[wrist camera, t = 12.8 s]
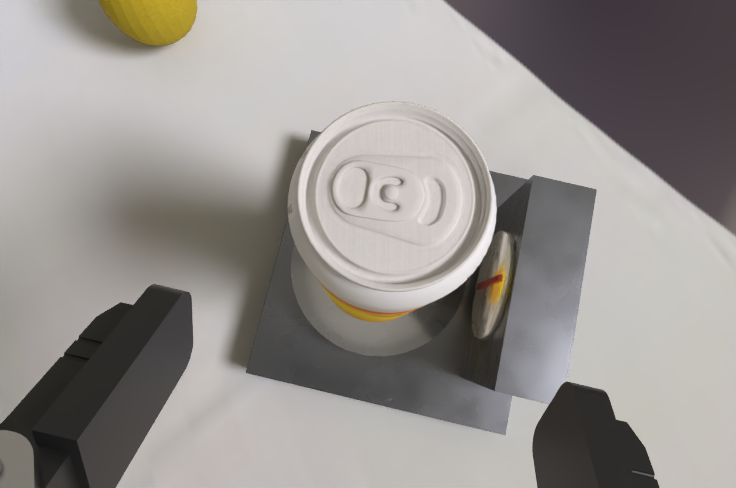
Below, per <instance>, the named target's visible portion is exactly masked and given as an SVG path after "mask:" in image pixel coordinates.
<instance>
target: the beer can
mask: <svg viewBox="0 0 736 488" xmlns="http://www.w3.org/2000/svg"><path fill="white" fill-rule="evenodd" d="M496 213H497V205H496V194H495V189H494V184H493V181H492V178H491V175H490V172H489V169H488V166H487V164H486V161H485V159H484V157H483V155H482V153H481V151H480V150H479V148H478V146H477V145H476V143H475V142H474V141H473V139H472V138H471V137H470V136H469V135H468V134H467V133H466V131H465V130H464V129H463V128H461V127H460V126H459V125H458V124H457V123H456V122H454V121H453V120H451V119H450V118H448V117H447V116H445V115H443V114H441V113H439V112H438V111H435V110H433V109H430V108H428V107H425V106H422V105H418V104H414V103H408V102H395V101H392V102H379V103H373V104H369V105H366V106H362V107H359V108H357V109H354V110H352V111H350V112H348V113H346V114H344V115H342V116H341V117H339V118H338V119H336V120H335V121H334V122H332V123H331V124H330V125H329V126H328V127H326V128H325V129H324V130H323V131H322V132H321V133H320V134H319V135H318V136H317V137H316V138H315V139H314V140H313V141H312V142H311V143H310V144H309V146H308V147H307V149H306V150H305V151H304V153H303V154H302V156H301V158H300V160H299V161H298V163H297V165H296V168H295V170H294V173H293V175H292V179H291V183H290V187H289V194H288V219H289V225H290V230H291V234H292V237H293V240H294V242H295V245H296V247H297V249H298V251H299V253H300V255H301V257H302V259H303V260H304V262H305V263H306V265H307V266H308V268H309V269H310V270H311V272H312V273H313V274H314V276H315V277H316V279H317V280H318V281H319V283H320V284H321V285H322V287H323V288H324V290H325V291H326V292H327V294H328V295H329V296H330V298H331V299H332V300H333V302H334V303H335V304H336V305H337V306H338V307H339V308H340V309H341V310H343V311H344V312H345V313H347V314H349V315H350V316H352V317H354V318H357V319H360V320H363V321H368V322H385V321H390V320H394V319H397V318H399V317H401V316H403V315H405V314H408V313H410V312H412V311H414V310H416V309H418V308H421V307H423V306H425V305H427V304H429V303H431V302H433V301H436V300H438V299H440V298H442V297H444V296H446V295H447V294H449V293H451V292H452V291H454V290H455V289H456V288H458V287H459V286H460V285H461V284H463V283H464V282H465V281H466V280H467V279H468V278H469V277H470V276H471V275H472V274H473V272H474V271H475V270H476V269H477V267H478V266H479V265H480V263H481V261H482V260H483V258H484V256H485V255H486V253H487V250H488V248H489V246H490V243H491V240H492V237H493V234H494V229H495V224H496Z"/></svg>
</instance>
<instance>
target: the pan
mask: <svg viewBox="0 0 736 488" xmlns="http://www.w3.org/2000/svg"><path fill="white" fill-rule="evenodd" d="M291 278H292V284H293V289H294V293H295V296H296V299H297V302H298V304H299V306H300V308H301V310H302V312H303V313H304V315H305V316H306V318H307V319H308V321H309V322H310V323H311V325H312V326H313V327H314V328H315V329H316V330H317V331H318V332H319V333H320V334H321V335H323V336H324V337H325V338H326V339H327V340H329V341H331V342H332V343H334V344H335V345H337V346H339V347H341V348H343V349H345V350H348V351H351V352H354V353H357V354H362V355H368V356H392V355H398V354H402V353H406V352H409V351H411V350H414V349H416V348H418V347H420V346H422V345H424V344H426V343H428V342H429V341H430V340H432V339H433V338H434V337H436V336H437V335H438V334H439V333H440V332H441V331H442V330H443V329H444V328H445V327H446V326H447V325H448V323H449V322H450V321H451V319H452V318H453V317H454V315H455V313H456V311H457V310H458V308H459V306H460V303H461V301H462V298H463V295H464V291H465V288H466V281H467V280H466V281H465V282H464V283H463V284H461V285H460V286H459V287H458V288H456V289H455V290H454V291H452V292H451V293H449V294H447V295H446V296H444V297H442V298H440V299H438V300H436V301H433V302H431V303H429V304H427V305H425V306H423V307H421V308H418V309H416V310H414V311H412V312H410V313H408V314H405V315H403V316H401V317H399V318H397V319H394V320H390V321H385V322H368V321H363V320H360V319H357V318H354V317H352V316H350V315H349V314H347V313H345V312H344V311H343V310H341V309H340V308H339V307H338V306H337V305H336V304H335V303H334V302H333V300H332V299H331V298H330V296H329V295H328V294H327V292H326V291H325V290H324V288H323V287H322V285H321V284H320V283H319V281H318V280H317V279H316V277H315V276H314V274H313V273H312V272H311V270H310V269H309V268H308V266H307V265H306V263H305V262H304V260H303V259H302V257H301V255H300V253H299V251H298V249H297V247H296V245H295V244H294V247H293V252H292V257H291Z"/></svg>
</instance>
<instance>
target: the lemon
mask: <svg viewBox="0 0 736 488" xmlns="http://www.w3.org/2000/svg"><path fill="white" fill-rule="evenodd" d="M98 1H99V3H100V5H101V6H102V8H103V10H104V12H105V13H106V15H107V16H108V17H109V19H110V20H111V21H112V22H113V23H114V24H115V25H116V26H117V27H118V28H119V29H120V30H121V31H122V32H124V33H125V34H126V35H128V36H130V37H131V38H133V39H135V40H136V41H138V42H141V43H144V44H148V45H154V46H163V45H169V44H172V43H175V42H177V41H179V40H180V39H182V38H183V37H184V36H185V35H186V34H187V33H188V32H189V31H190V30H191V28H192V26H193V23H194V21H195V18H196V13H197V0H98Z"/></svg>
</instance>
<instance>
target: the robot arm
mask: <svg viewBox="0 0 736 488" xmlns="http://www.w3.org/2000/svg"><path fill="white" fill-rule="evenodd" d="M192 348H193V325H192V300H191V295H190V293H189V292H186V291H182V290H177V289H173V288H169V287H164V286H160V285H156V284H153V285H151V286H149V287H148V288H147V289H146V290H145V292H144V293H143V294H142V295H141V297H140V298H139V299H138V300H137V301H136V303H135V304H134V305H130V304H126V303H119V304H117V305H116V306H114V307H112V308H111V309H109V310H107V311H105V312H104V313H102V314H100V315H99V316H97V317H96V318H95V319H94V320H93V321H92V322H91V323H90V325H89V326H88V327H87V328H86V329H85V330H84V331H83V332H82V334H81V335H80V336H79V339H78V340H77V341H76V340H75V341H74V343H73V344H72V345H71V346H70V347H69V348H68V349H67V350H66V352H65V353H64V356H63V357H60V358H59V359H58V361H57V362H56V363H55V364H54V365H53V366H52V367H51V368H50V370H49V371H48V372H47V373H46V374H45V375H44V376H43V377H42V379H41V380H40V381H39V382H38V383H37V384H36V385H35V386H34V388H33V389H32V390H31V391H30V392H29V393H28V394H27V395H26V397H25V398H24V399H23V400H22V401H21V402H20V403H19V404H18V406H17V407H16V408H15V409H14V410H13V411H12V412H11V413H10V415H9V416H8V417H7V418H6V419H5V420H4V421H3V422H2V423H1V424H0V488H115V487H116V486H117V484H118V482H119V481H120V479H121V477H122V476H123V474H124V472H125V471H126V469H127V467H128V465H129V464H130V462H131V460H132V459H133V457H134V455H135V454H136V452H137V450H138V449H139V447H140V445H141V444H142V442H143V440H144V438H145V437H146V435H147V433H148V432H149V430H150V428H151V427H152V425H153V423H154V422H155V420H156V418H157V416H158V415H159V413H160V411H161V410H162V408H163V406H164V405H165V403H166V401H167V400H168V398H169V396H170V394H171V393H172V391H173V389H174V388H175V386H176V384H177V383H178V381H179V379H180V378H181V376H182V374H183V372H184V371H185V369H186V367H187V365H188V362H189V359H190V356H191V353H192ZM533 459H534V466H535V473H536V480H537V487H538V488H659V485H658V482H657V480H656V479H654V475H655V474H654V471H653V468H652V465H651V462H650V460H649V457H648V454H647V451H646V448H645V447H644V445H643V444H642V442H641V441H640V440H639V438H638V437H637V436H636V434H635V433H634V431H633V430H632V429H631V427H630V426H629V425H628V423H627V422H623V421H619V420H616V418H615V415H614V412H613V409H612V406H611V403H610V400H609V397H608V395H607V393H606V392H605V391H603V390H601V389H596V388H592V387H588V386H584V385H579V384H575V383H571V382H564V383H563V384H562V385H561V386H560V388H559V389H558V391H557V393H556V394H555V396H554V398H553V399H552V401H551V402H550V404H549V406H548V407H547V409H546V411H545V412H544V414H543V416H542V417H541V419H540V421H539V422H538V424H537V426H536V429H535V432H534V437H533Z"/></svg>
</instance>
